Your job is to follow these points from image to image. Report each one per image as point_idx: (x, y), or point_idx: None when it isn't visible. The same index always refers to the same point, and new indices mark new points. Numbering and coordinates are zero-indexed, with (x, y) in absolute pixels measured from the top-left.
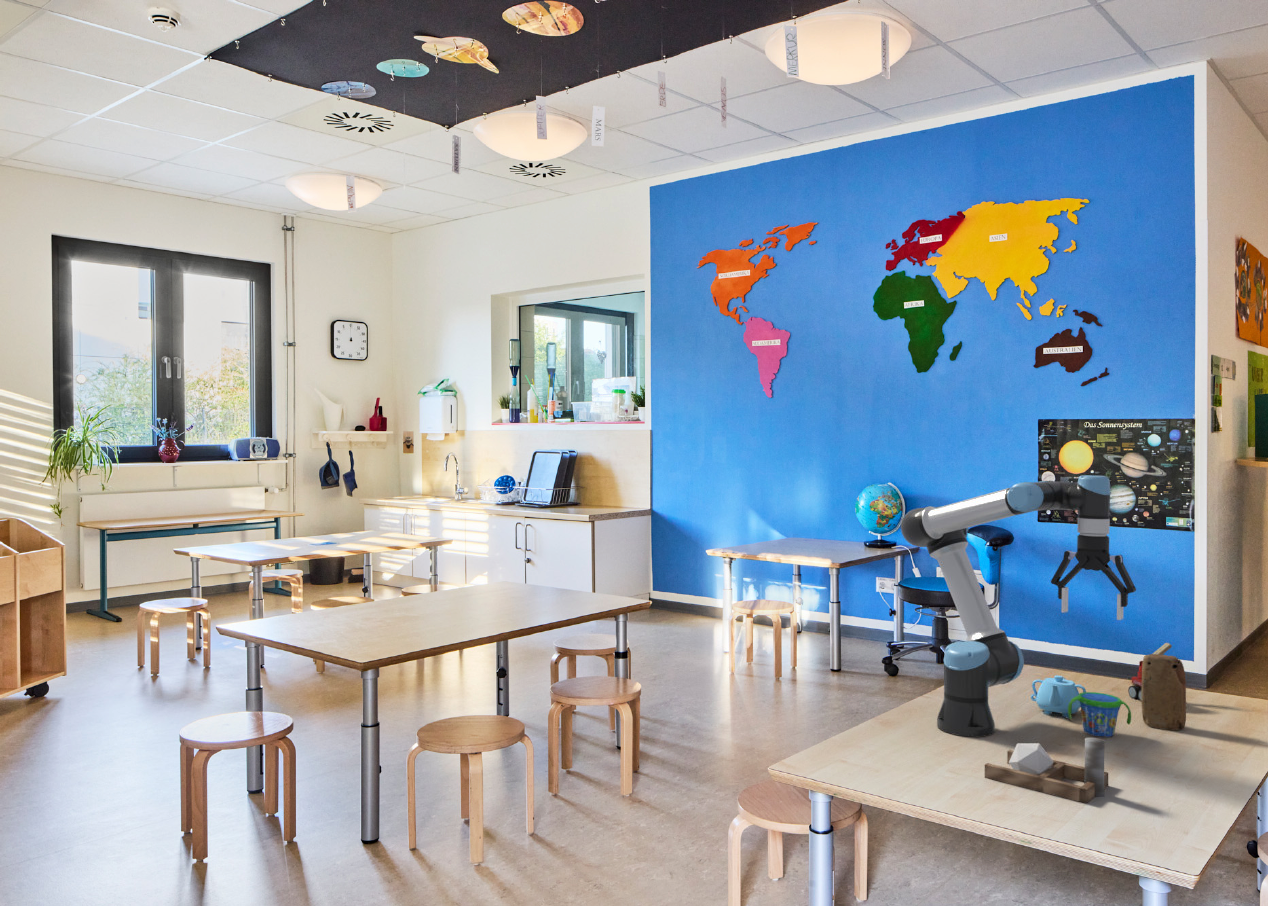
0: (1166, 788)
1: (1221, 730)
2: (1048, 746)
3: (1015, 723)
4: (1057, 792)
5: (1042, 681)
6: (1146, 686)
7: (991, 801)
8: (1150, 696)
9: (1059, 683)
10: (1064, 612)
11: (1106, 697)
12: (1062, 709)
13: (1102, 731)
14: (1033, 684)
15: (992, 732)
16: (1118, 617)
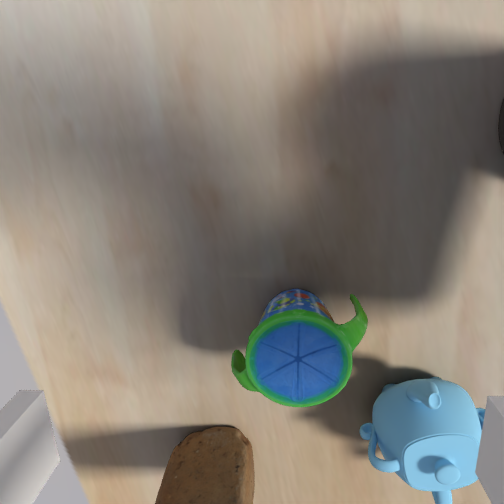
0: (46, 24)
1: (136, 486)
2: (351, 132)
3: (475, 260)
4: None
5: None
6: (231, 500)
7: None
8: (225, 479)
9: (434, 446)
10: (488, 401)
11: (289, 386)
12: (401, 385)
13: (278, 295)
14: None
15: (501, 117)
16: (19, 404)
